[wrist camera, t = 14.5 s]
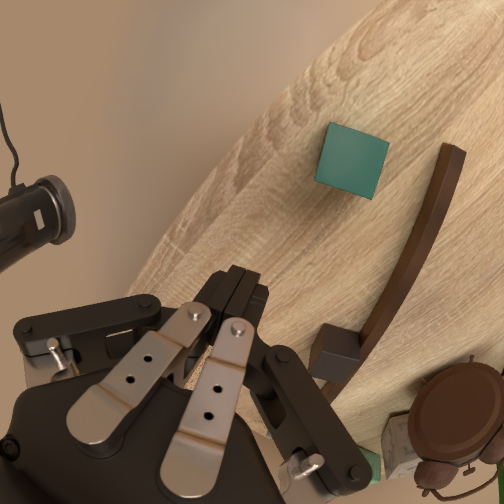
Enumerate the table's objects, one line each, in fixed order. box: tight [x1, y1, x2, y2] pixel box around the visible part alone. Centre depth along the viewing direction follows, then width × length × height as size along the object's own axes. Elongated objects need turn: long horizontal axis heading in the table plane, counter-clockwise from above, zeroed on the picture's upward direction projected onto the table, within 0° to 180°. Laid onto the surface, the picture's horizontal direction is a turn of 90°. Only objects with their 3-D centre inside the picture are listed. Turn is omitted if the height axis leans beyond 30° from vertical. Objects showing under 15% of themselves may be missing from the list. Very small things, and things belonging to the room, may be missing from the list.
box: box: [359, 447, 381, 485], centre depth 40 cm, size 7×14×8 cm, turn 50°
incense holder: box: [381, 414, 423, 480], centre depth 30 cm, size 10×8×10 cm
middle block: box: [308, 323, 360, 384], centre depth 28 cm, size 4×4×4 cm
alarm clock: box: [407, 355, 504, 501], centre depth 20 cm, size 14×7×20 cm, turn 127°
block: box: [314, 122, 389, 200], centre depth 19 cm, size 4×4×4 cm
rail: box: [321, 143, 467, 404], centre depth 29 cm, size 48×2×2 cm, turn 168°
